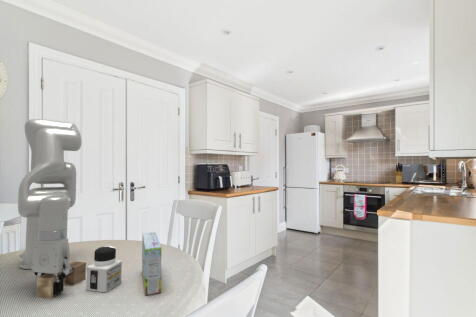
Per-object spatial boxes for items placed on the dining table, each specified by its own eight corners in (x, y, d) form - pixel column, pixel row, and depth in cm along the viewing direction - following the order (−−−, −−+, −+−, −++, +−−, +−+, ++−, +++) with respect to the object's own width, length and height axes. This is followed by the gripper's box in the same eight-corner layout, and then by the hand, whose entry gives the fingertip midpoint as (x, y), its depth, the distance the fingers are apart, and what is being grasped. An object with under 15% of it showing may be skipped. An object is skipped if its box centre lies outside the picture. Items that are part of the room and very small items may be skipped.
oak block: (36, 296, 79) (37, 277, 79) (51, 289, 84) (51, 270, 84) (50, 298, 78) (50, 278, 78) (63, 290, 83) (64, 272, 83)
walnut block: (61, 284, 88) (62, 266, 88) (73, 277, 93) (74, 261, 93) (74, 285, 87) (74, 267, 87) (85, 279, 92) (85, 262, 92)
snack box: (140, 271, 99) (141, 232, 100) (155, 269, 102) (156, 231, 102) (143, 296, 80) (145, 248, 81) (162, 293, 82) (163, 246, 83)
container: (106, 293, 82) (107, 252, 82) (85, 290, 83) (87, 250, 84) (121, 282, 89) (122, 245, 90) (102, 280, 91) (103, 243, 91)
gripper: (19, 236, 80) (16, 295, 79) (65, 239, 76) (63, 301, 76) (41, 230, 87) (39, 284, 86) (85, 233, 84) (82, 289, 83)
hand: (50, 291), depth 81 cm, fingers closed on oak block, 5 cm apart
